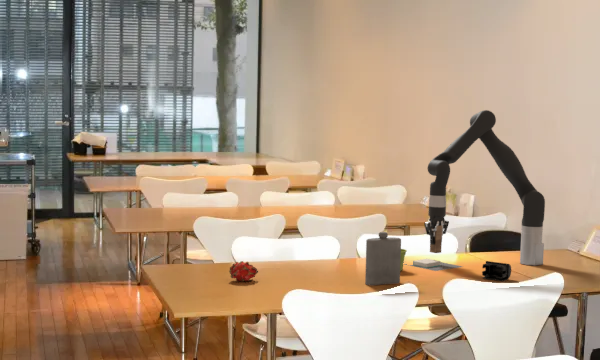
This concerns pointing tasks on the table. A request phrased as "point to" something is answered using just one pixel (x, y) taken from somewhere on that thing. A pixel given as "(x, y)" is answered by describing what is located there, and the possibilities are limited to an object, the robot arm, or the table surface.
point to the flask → (383, 260)
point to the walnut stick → (437, 241)
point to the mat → (440, 267)
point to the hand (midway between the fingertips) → (435, 244)
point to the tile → (426, 263)
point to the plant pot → (402, 258)
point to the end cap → (496, 271)
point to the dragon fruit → (242, 271)
